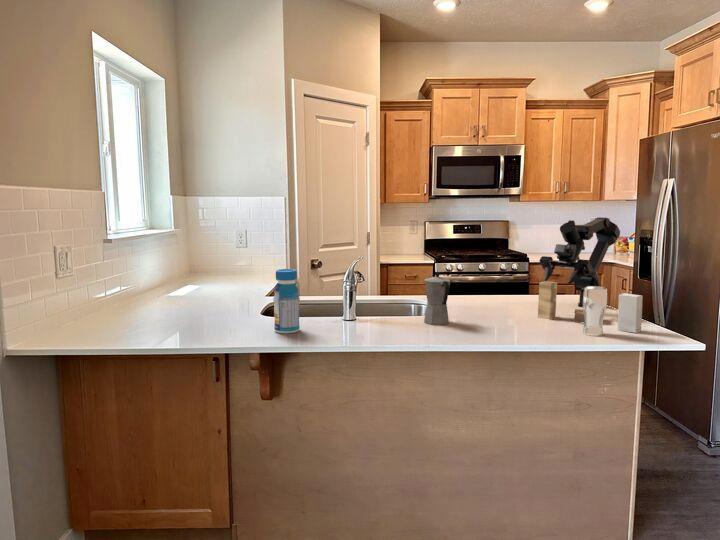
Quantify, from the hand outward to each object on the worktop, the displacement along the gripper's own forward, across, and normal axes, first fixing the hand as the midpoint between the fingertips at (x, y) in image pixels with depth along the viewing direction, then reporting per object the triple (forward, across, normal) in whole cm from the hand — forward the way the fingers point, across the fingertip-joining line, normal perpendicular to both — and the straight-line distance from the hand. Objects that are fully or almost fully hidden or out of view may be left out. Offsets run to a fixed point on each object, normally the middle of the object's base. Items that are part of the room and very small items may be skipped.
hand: (556, 282), depth 190 cm
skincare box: (+12, +28, +6) cm, 31 cm away
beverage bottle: (+72, -46, -54) cm, 101 cm away
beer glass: (+21, +22, -3) cm, 31 cm away
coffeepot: (+40, -21, -21) cm, 50 cm away
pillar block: (+14, 0, +4) cm, 14 cm away
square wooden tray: (+9, +12, +9) cm, 18 cm away
